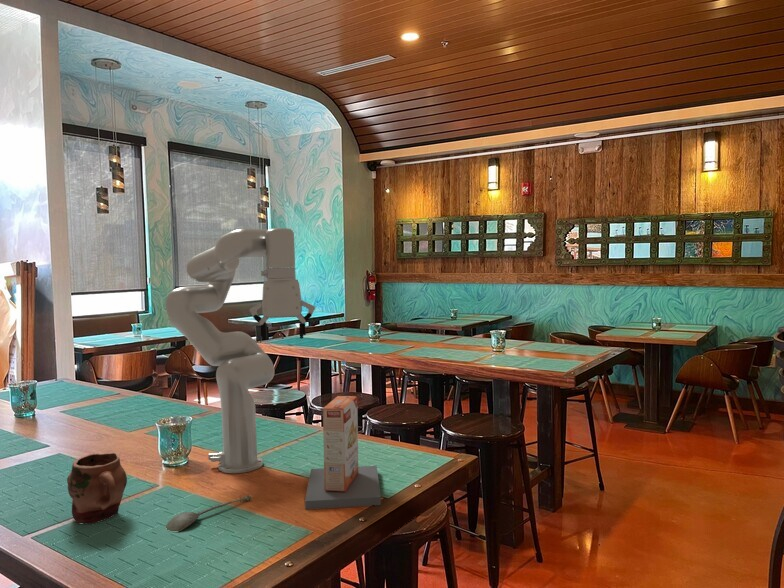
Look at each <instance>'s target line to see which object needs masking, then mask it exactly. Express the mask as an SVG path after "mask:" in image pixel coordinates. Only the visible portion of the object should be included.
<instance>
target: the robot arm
mask: <svg viewBox="0 0 784 588" xmlns="http://www.w3.org/2000/svg"><path fill="white" fill-rule="evenodd" d="M295 251H296V249H295V233H294V230H293V229H291V228H287V227H285V228H284V227H283V228H282V227H278V228H277V227H276V228H275V227H274V228H273V227H272V228H270V229H265V228H261V229H260V228H239V229H235V230H232V231H229V232H228V233H225V234H223V235H222V236H220V237H219V238H218V240H217V241H216V244H215V246H213V247H211V248H209V249H207V250H204V251H203V252H201V253H198V254H196V255H194V256H193V257H191V258H190V259H189V260H188V262H187V264H186V273H187V275H188V277H190V279H191V280H193V281H196V282H199V283H208V284H206V285H189V286H181V287H176V288H175V289H174V288H173V290H171V291H169V293H168V294H167V296H166V298H165V309H166V314H167V317H168V319H169V321H170V323H171V324H172V325H173V327H175V329H176V330H178V332H179V333H181V334H182V335H183V336H184V337H185V338H186V339H187V340H188V341H189V343H190V344H191V345H192V347H193V348H194V349H195V350H196V351H197V352H198V354H199V355H200V356H201V357H202V359H203V360H204V361H205V362H206V363H207V364H208V365H210V366H213V367H217V369H216V373H215V378H216V379H215V380H216V383H217V387H218V392H219V399H220V408H221V409H220V412H221V413H220V414H221V433H222V436H221V437H222V451H219V453H218V452H217V453H216V452H211V453H208V456H207V459H208V460H209V461H210V463H212V462H219V463H218V465H217V468H218V471H220V472H221V473H226V474H244V473H248V472H253V471H256V470H258V469H259V468H261V467H262V466H264V459H263V458H262V457H261V456H258V440H257V439H258V438H257V415H256V414H257V413H256V402H255V401H254V398H253V397H252V394H251V393H250V391H249V390H250V389H253V388H257V387H261V386H264V385H266V384H267V385H268V383H270V382H271V381H272V380H273V378H274V376H275V367H274V363H273V361H272V359H271V358H270V357H269V355H268V354H267V352H265V350H263V349H262V347H260V345H259V344H258V342H256V341H255V340H254V339H253V338H252V336H250V335H249V334H248V333H246V332H244V331H238V330H237V331H229V332H223V331H220V330H219V329H218V328H217V327H216V326H215V324H214V323H213V322H212V321H210V320H209V319H207V318H206V317H204V316H202V315H200V314H203V313H213V312H216V311H219V310H220V309H221V308H222V307H223V305H224V303H225V301H226V299H227V297H228V294H229V292H230V288H231V287H232V284H233V281H234V278H235V275H236V270H237V268H238V267H239V264H240V258H249V257H250V258H253V257H255V258H257V257H258V258H259V257H260V258H261V257H262V258H265V257H266V259H265V261H266V268H265V270H262V271H260V273H261V276H262V277H265V278H266V280H263V285H262V300H261V302H259V303H257V304H255V305H254V306H253V307H250V308H249V312H250V314H251V315H252V317H253V320H255V321H256V322H257V323H258V324H259V325H260V337H261V338H262V339H263V341H266V340H268V338H269V337H268V336H269V335H268V324H267V321H268V319H274V318H275V319H276V318H278V319H279V318H282V319H283V318H295V317H296V318H297V319H298V320H299V325H298V326H299V339H304V336H306V322H307V321H309V319H311V317H312V316H313V314H314V311H315V309H316V306H315V305H312V304H311V303H308V302H306V301H304V300H303V299H302V294H301V293H302V292H301V288H300V287H301V286H300V281H299V279H297V277H296V253H295ZM303 307H304V308H306V309H308V312H307V314H306V315H305V316H304V315H303V314H302V311H303ZM261 308H262V310H261V311H262V312H261V313H262V317H261V316H260V315H259V314H258V312H257V311H258V310H260V309H261Z"/></svg>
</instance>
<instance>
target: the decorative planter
mask: <svg viewBox="0 0 784 588" xmlns="http://www.w3.org/2000/svg"><path fill="white" fill-rule="evenodd" d="M126 473H127V472H126V470H125V469H124V467H123V466H122V463H121V459H120V456H118V454H117V453H113V452H112V453H111V452H110V453H109V452H105V453H89V454H86V455H84V456H81V457H79V458H77V459H75V460H74V461H73V462H72V464H71V472H70V473H69V474H68V476H67V478H66V481H67V491H68V495H69V496H70V498H71V499H72V500H71V514H72V518H73V520H74V521H75V523H77V522H78V523H77V524H79V523H92V524H95V523H99V522H98V521H100V522H102V521H101V520H103V521H105V520H107V518H108V519H110V518H112V517H114V516H116V514H118V513H119V509H120V505H121V503H122V500H123V496H124V491H125V489H126V487H127V484H128V483H127V482H128V477H127V474H126ZM113 515H114V516H113ZM111 516H112V517H111ZM109 517H110V518H109ZM104 519H105V520H104ZM94 522H95V523H94Z"/></svg>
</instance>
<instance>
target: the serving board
mask: <svg viewBox="0 0 784 588" xmlns="http://www.w3.org/2000/svg"><path fill="white" fill-rule="evenodd" d="M380 489H381V487H380V481H379V474H378V466H377V465H362V466H359V465H358V474H357V475H356V477H355V478H354V480H353V481H352V483H351V484H350V486H349V487H348V489H347V490H346V492H340V491H325V488H324V467H323V468H311V469H310V473H309V478H308V483H307V488H306V494H305V499H304V507H305V508H304V509H305V510H319V509H334V508H335V509H337V508H355V507H357V508H358V507H371V506H372V505H375V506H382V495H381V490H380Z"/></svg>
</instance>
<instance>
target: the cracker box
mask: <svg viewBox="0 0 784 588" xmlns="http://www.w3.org/2000/svg"><path fill="white" fill-rule="evenodd" d="M358 414H359V413H358V396H355V395H337V396H336V397H334V398H333V399H332V400H331V401H330V402H329V403H327V405H325V406H324V407H323V408H322V428H323V429H322V432H323V433H322V434H323V436H322V437H323V441H322V442H323V468H324V488H325V491H340V492H346V490H347V489H348V487H349V486H350V484H351V483H352V481H353V480H354V478H355V477H356V475H357V474H358V467H359V434H358V432H359V430H358V429H359V425H358V421H359V420H358Z"/></svg>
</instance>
